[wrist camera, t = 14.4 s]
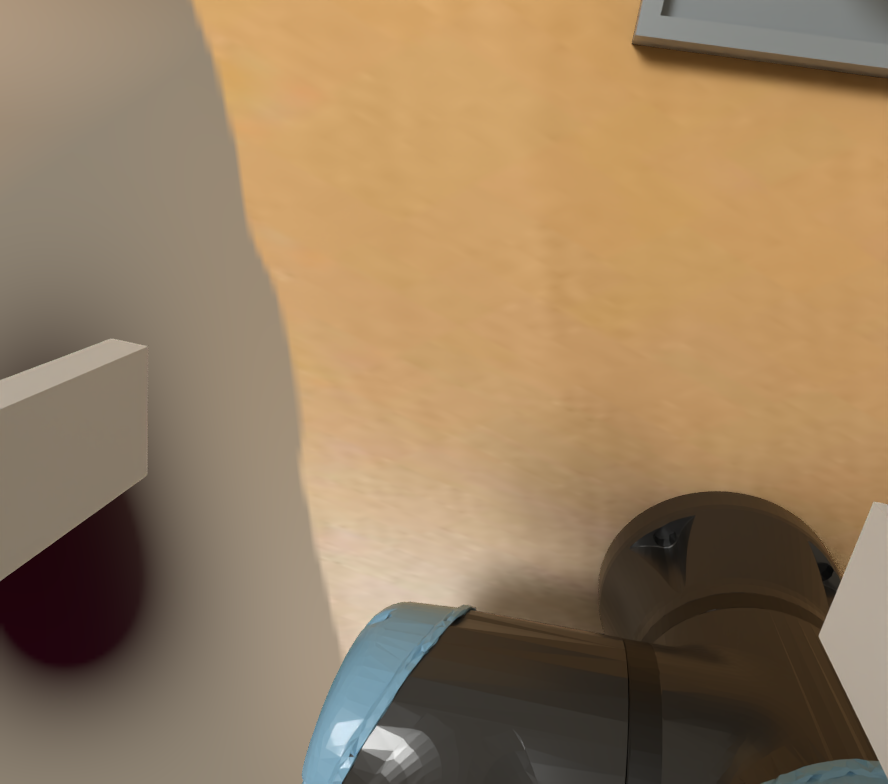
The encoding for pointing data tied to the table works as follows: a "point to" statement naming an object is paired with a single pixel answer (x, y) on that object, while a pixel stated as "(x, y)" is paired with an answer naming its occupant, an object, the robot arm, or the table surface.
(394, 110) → the table surface
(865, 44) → the tray
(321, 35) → the table surface
